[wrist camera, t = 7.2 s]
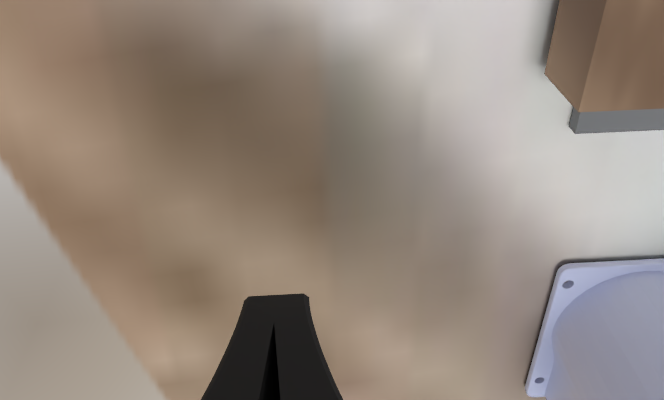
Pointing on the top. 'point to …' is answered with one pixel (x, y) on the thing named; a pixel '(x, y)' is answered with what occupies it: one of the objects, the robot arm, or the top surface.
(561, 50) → the slab
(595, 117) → the mat
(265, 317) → the robot arm
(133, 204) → the top surface
